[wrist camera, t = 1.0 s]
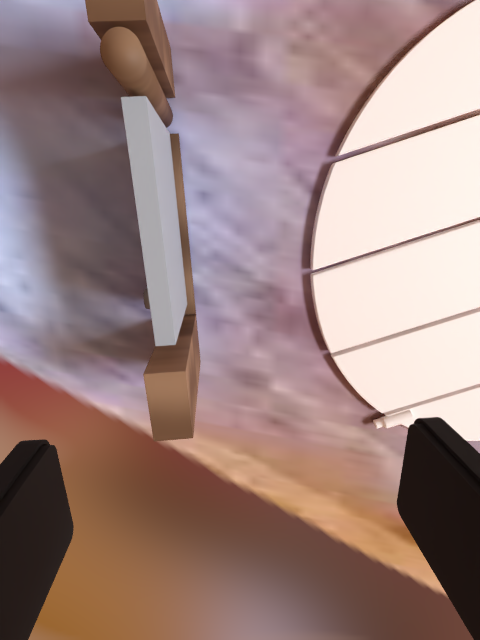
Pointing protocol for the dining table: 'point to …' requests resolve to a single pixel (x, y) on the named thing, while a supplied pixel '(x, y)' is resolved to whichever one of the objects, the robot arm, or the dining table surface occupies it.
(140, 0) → the doorframe
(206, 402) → the dining table surface
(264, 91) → the dining table surface
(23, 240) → the dining table surface
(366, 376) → the lazy susan
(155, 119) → the door
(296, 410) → the dining table surface
